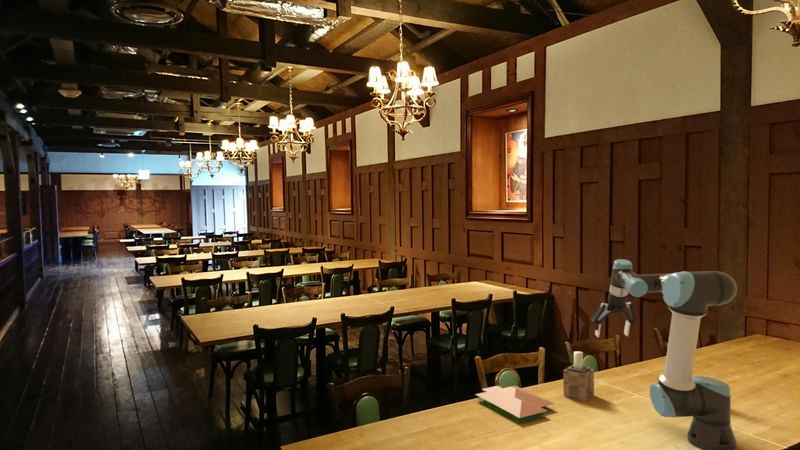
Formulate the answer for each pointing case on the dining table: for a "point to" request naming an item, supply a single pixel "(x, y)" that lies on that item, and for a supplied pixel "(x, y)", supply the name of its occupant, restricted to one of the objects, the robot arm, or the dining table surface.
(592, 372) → the socket block
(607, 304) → the robot arm
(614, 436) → the dining table surface
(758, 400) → the dining table surface
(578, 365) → the peg
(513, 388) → the house
